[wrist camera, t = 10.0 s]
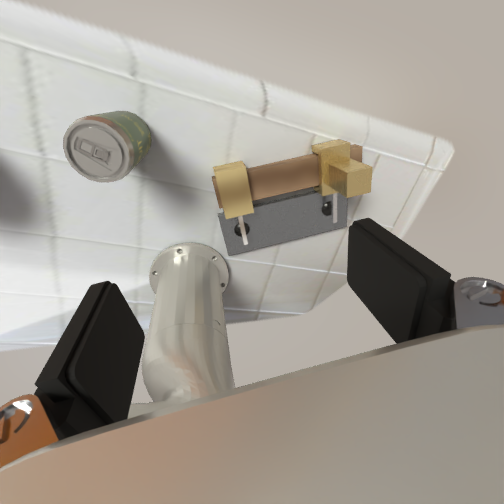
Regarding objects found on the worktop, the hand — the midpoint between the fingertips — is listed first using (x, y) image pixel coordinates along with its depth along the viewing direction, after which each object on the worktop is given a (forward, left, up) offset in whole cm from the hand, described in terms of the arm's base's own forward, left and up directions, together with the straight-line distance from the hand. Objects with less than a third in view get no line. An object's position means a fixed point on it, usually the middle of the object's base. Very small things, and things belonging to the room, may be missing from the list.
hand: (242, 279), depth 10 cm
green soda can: (+4, +9, -28) cm, 30 cm away
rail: (-7, -10, -28) cm, 31 cm away
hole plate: (-12, -9, -28) cm, 32 cm away
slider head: (-7, -16, -28) cm, 33 cm away
